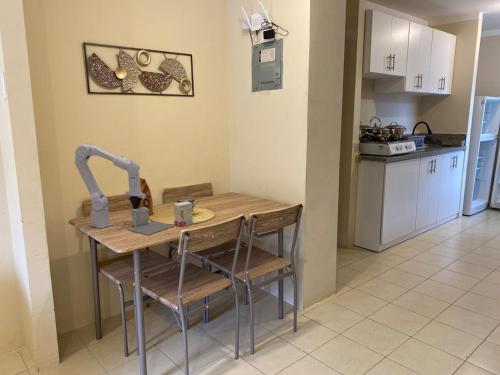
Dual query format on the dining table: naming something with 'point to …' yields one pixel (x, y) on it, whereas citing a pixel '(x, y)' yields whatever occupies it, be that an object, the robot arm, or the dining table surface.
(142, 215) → the medicine box
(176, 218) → the ink box
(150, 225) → the mat
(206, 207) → the dining table surface
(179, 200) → the ceramic cup
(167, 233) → the dining table surface
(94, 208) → the robot arm
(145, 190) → the coffee package
